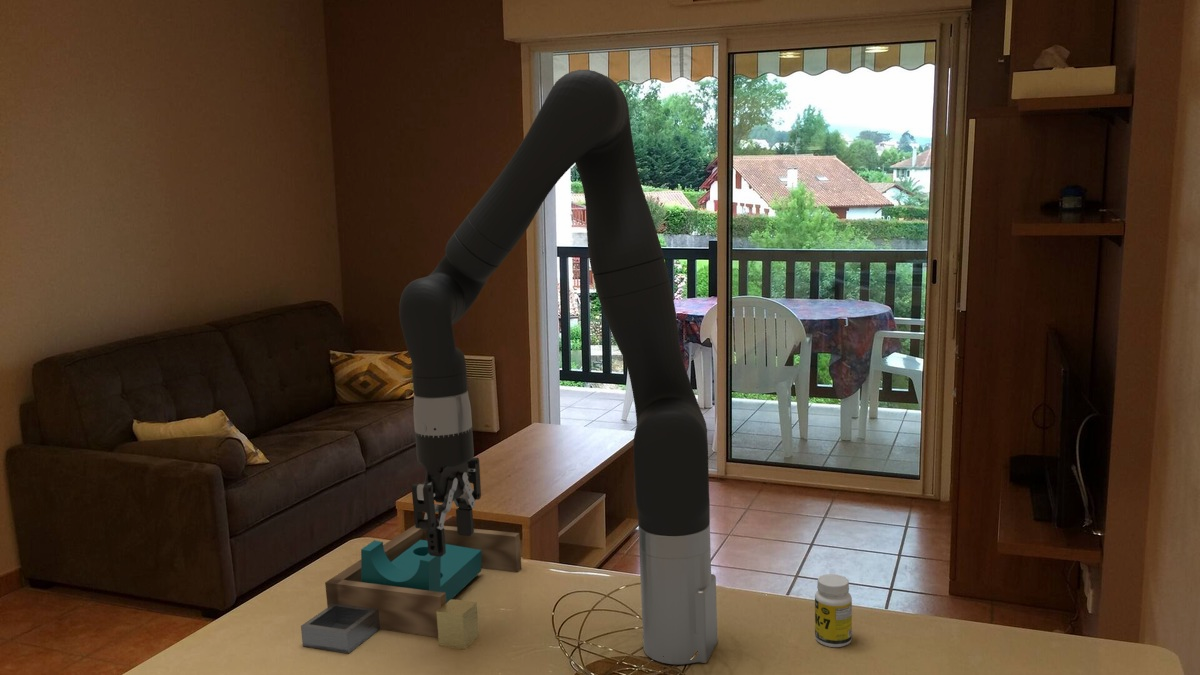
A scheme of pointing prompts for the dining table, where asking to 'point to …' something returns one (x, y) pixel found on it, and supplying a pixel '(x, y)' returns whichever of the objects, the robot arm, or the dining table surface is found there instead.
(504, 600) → the dining table surface
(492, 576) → the dining table surface
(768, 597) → the dining table surface
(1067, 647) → the dining table surface
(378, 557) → the teal l-shaped bracket
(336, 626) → the tray
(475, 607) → the key block
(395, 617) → the bracket
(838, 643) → the supplement bottle
